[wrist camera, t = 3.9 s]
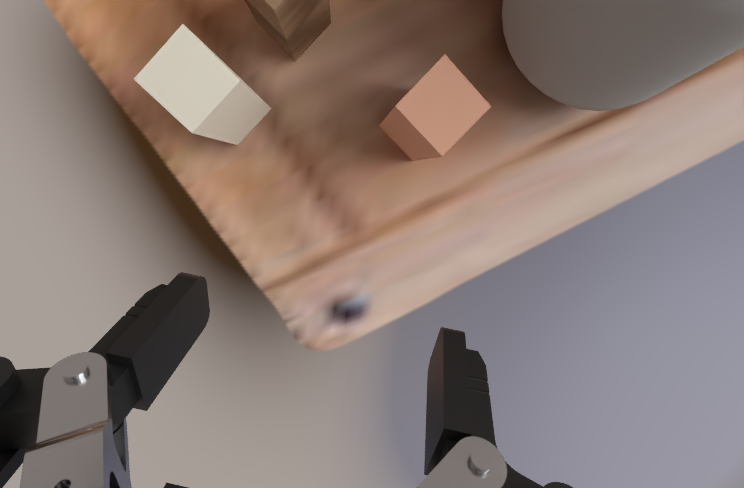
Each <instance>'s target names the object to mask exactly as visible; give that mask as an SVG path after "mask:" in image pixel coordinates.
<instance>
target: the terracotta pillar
mask: <svg viewBox="0 0 744 488" xmlns="http://www.w3.org/2000/svg"><path fill="white" fill-rule="evenodd" d="M490 107H491V106H490V105H489V103H488V102H487V101H486V100H485V99H484V98H483V97H482V95H481V94H480V93H479V92H478V91H477V90H476V89H475V88H474V86H473V85H472V84H471V83H470V82H469V81H468V80H467V78H466V77H465V76H464V75H463V74H462V73H461V72H460V71H459V69H458V68H457V67H456V66H455V65H454V64H453V63H452V61H451V60H450V59H449V58H448V57H447V56H446V55H445V54H444V56H443V57H442V58H441V59H440V60H439V61H438V62H437V63H436V64H435V65H434V66H433V67H432V68H431V69H430V70H429V71H428V72H427V73H426V74H425V75H424V76H423V77H422V78H421V79H420V81H419V82H418V83H417V84H416V85H415V86H414V87H413V88H412V89H411V90H410V91H409V92H408V93H407V94H406V95H405V96H404V97H403V98H402V99H401V100H400V101H399V102H398V103H397V105H396V106H395V107H394V108H393V109H392V110H391V112H390V113H389V114H388V115H387V117H386V118H385V119H384V120H383V121H382V123H381V124H380V125H379V126H380V128H381V129H382V130H383V131H384V132H385V133H386V134H387V135H388V136H389V137H390V138H391V139H392V140H393V141H394V142H395V143H396V144H397V145H398V146H399V147H400V148H401V149H402V150H403V151H404V152H405V154H406V155H407V156H408V157H409V158H410V159H411V160H412V161H416V160H422V159H428V158H435V157H441V156H443V155H444V154H445V153H446V152H447V151H448V150H449V149H450V148H451V147H452V146H453V145H454V144H455V143H456V142H457V141H458V140H459V139H460V138H461V137H462V136H463V135H464V134H465V133H466V132H467V131H468V130H469V129H470V128H471V127H472V126H473V125H474V124H475V123H476V122H477V121H478V120H479V119H480V118H481V117H482V116H483V114H484V113H485V112H486V111H487V110H488V109H489V108H490Z"/></svg>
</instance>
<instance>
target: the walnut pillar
mask: <svg viewBox="0 0 744 488" xmlns="http://www.w3.org/2000/svg"><path fill="white" fill-rule="evenodd" d="M245 1H246V3H247V5H248V6H249V8H250V10H251V12H252V13H253V15H254V17H255V19H256V21H257V22H258V23H259V24H260V25H261V26H262V27H263V28H264V29H265V30H266V31H267V32H268V33H269V34H270V35H271V36H272V37H273V38H274V39H275V40H276V41H277V42H278V43H279V44H280V45H281V47H282V48H283V49H284V50H285V51H286V52H287V53H288V54H289V55H290V56H291V57H292V58H293V59H294V60H295V61H296V60H297V59H298V58H299V57H300V56H301V55H302V54H303V52H304V51H305V50H306V49H307V48H308V47H309V46H310V45H311V44H312V43H313V42H314V41H315V39H316V38H317V37H318V36H319V35H320V34H321V33H322V32H323V31H324V30H325V29H326V28H327V26H328V25H329V24H330V23H331V18H330V4H329V0H245Z"/></svg>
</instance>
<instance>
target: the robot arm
mask: <svg viewBox="0 0 744 488" xmlns="http://www.w3.org/2000/svg"><path fill="white" fill-rule="evenodd" d="M209 312H210V309H209V300H208V291H207V282H206V279H205V278H204V277H202V276H197V275H192V274H188V273H183V272H182V273H179V274H178V275H177V276H176V277H175V278H174V279H173V280H172V281H171V282H170V283H169V284H168V285H164V284H161V285H159V286H157V287H156V288H154V289H152V290H150V291H148V292H147V293H145V294H144V295H143V296H142V298H140V300H138V301H137V302H136V304H135V306H133V307H132V308H131V309H130V310H129V311H128V312H127V313H126V315H125V316H123V317H122V318H121V319H120V320H119V321H118V322H117V323H116V324H115V325H114V326H113V327H112V328H111V329H110V330H109V331H108V332H107V333H106V334H105V335H104V336H103V337H102V338H101V340H100V341H99V342H98V343H97V344H96V345H95V346H94V347H93V348H92V349H91V350H90V351H89V352H84V353H78V354H74V355H71V356H68V357H66V358H64V359H63V360H61V361H59V362H58V363H56V364H55V365H54V366H52V367H51V368H38V369H22V370H16V369H15V368H14V366H13V364H12V362H11V361H10V360H9V359H7V358H4V357H0V488H2V487H3V486H4V485H5V484H6V482H7V481H8V480H9V479H10V478H11V476H12V475H13V474H14V473H15V471H16V470H17V469H18V468H19V467H20V465H21V464H22V463H23V468H22V475H21V483H20V488H132V487H131V481H130V470H129V454H128V437H127V422H126V416H127V415H128V414H129V412H130V411H131V410H132V408H136V409H141V410H145V411H147V410H148V408H149V407H150V405H151V404H152V403H153V401H154V400H155V398H156V397H157V395H158V394H159V393H160V391H161V389H162V388H163V387H164V385H165V384H166V383H167V381H168V379H169V378H170V377H171V375H172V374H173V372H174V371H175V370H176V368H177V367H178V365H179V364H180V362H181V361H182V360H183V358H184V357H185V355H186V354H187V352H188V351H189V350H190V348H191V347H192V345H193V344H194V342H195V341H196V340H197V338H198V337H199V335H200V334H201V332H202V331H203V329H204V328H205V326H206V324H207V322H208V318H209ZM487 381H488V379H487V371H486V365H485V363H484V361H483V359H482V358H481V356H480V354H479V352H478V351H474V350H469V349H466V341H465V333H464V332H462V331H458V330H453V329H448V328H443V327H442V328H441V329H440V332H439V334H438V337H437V340H436V344H435V347H434V349H433V352H432V356H431V359H430V363H429V369H428V380H427V410H426V440H425V469H424V474H425V475H428V476H427V477H426V478H425V479H424V480H423V481H422V482H421V483H420V484H419V485H418V487H417V488H573V487H571V486H569V485H567V484H564V483H560V482H552V483H549V484H547V485H545V486H544V487H543V486H541V485H539V484H537V483H535V482H533V481H532V480H530V479H528V478H526V477H525V476H523V475H521V474H520V473H518V472H516V471H515V470H514V469H513V468H511V467H510V466H509V465H508V464H507V463H506V461H505V460H504V458H503V456H502V455H501V453H500V452H499V450H498V449H497V446H496V443H495V436H494V428H493V420H492V412H491V403H490V396H489V387H488V383H487ZM164 488H187V487H183V486H179V485H174V484H170V483H166V485H165V487H164Z"/></svg>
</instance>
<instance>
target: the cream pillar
mask: <svg viewBox="0 0 744 488" xmlns="http://www.w3.org/2000/svg"><path fill="white" fill-rule="evenodd" d="M134 80H135V81H136V82H137V83H138V84H139V85H140V86H142V87H143V88H144V89H145V90H146V91H147V92H148V93H149V94H150V95H151V96H152V97H153V98H154V99H156V100H157V101H158V102H159V103H160V104H161V105H162V106H163V107H164V108H165V109H166V110H167V111H169V112H170V113H171V114H172V115H173V116H174V117H175V118H176V119H177V120H178V121H179V122H180V123H181V124H183V125H184V126H185V127H186V128H187V129H188V130H189V131H190V132H191V133H193V134H197V135H201V136H204V137H208V138H212V139H216V140H220V141H224V142H228V143H231V144H235V145H238V144H239V143H240V142H241V141H242V140H243V139H244V138H245V137H246V136H247V135H248V134H249V133H250V131H251V130H252V129H253V128H254V127H255V126H256V125H257V124H258V123H259V122H260V121H261V120H262V119H263V117H264V116H265V115H266V114H267V113H268V112H269V111H270V110H271V108H270V107H269V106H268V105H267V104H266V103H265V102H264V101H263V100H262V99H261V98H260V97H259V96H258V95H257V94H256V93H255V92H254V91H253V90H252V89H251V88H250V87H249V86H248V85H247V84H246V83H245V82H244V81H243V80H242V79H241V78H240V77H239V76H238V75H237V74H236V73H235V72H234V71H233V70H232V69H231V68H230V67H229V66H227V65H226V64H225V63H224V62H223V61H222V60H221V59H220V58H219V57H218V56H217V55H216V54H215V53H214V52H213V51H211V50H210V49H209V48H208V47H207V46H206V45H205V44H204V43H203V42H202V41H201V40H200V39H199V38H198V37H196V36H195V35H194V34H193V33H192V32H191V31H190V30H189V29H188V28H187V27H186V26H185V25H184V24H182V25H181V26H180V27H179V29H178V30H177V31H176V32H175V33H174V34H173V35H172V36H171V38H170V39H169V40H168V41H167V42H166V43H165V44H164V45H163V47H162V48H161V49H160V50H159V51H158V52H157V53H156V54H155V56H154V57H153V58H152V59H151V60H150V61H149V62H148V64H147V65H146V66H145V67H144V68H143V69H142V70H141V71H140V73H139V74H138V75H137V76H136V77H135V78H134Z"/></svg>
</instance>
